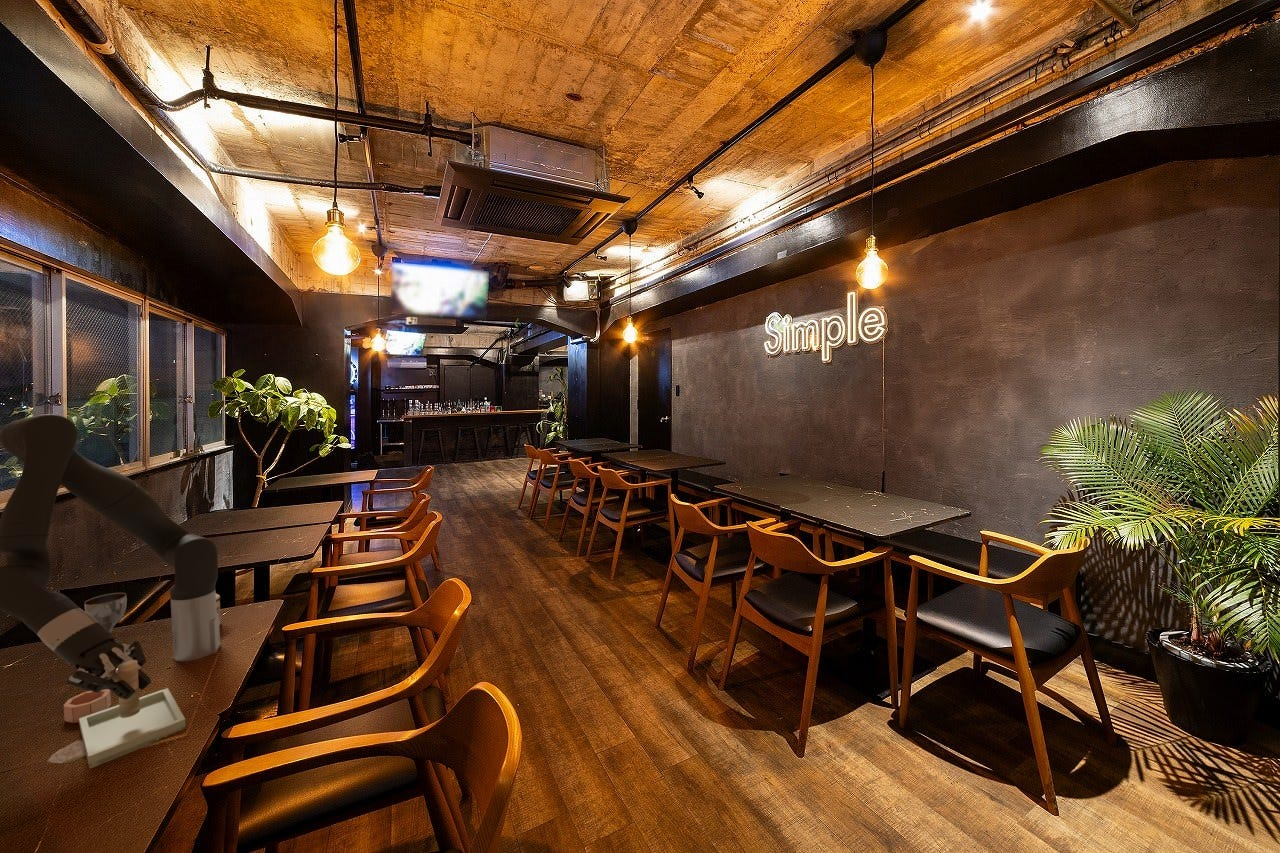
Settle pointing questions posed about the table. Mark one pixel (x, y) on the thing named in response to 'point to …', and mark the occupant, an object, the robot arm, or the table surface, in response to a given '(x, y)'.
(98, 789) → the table surface
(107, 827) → the table surface
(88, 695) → the pin holder cup
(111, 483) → the robot arm
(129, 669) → the beech pin
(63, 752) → the flatbread
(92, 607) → the wine glass
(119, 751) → the sage tray
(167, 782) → the table surface
